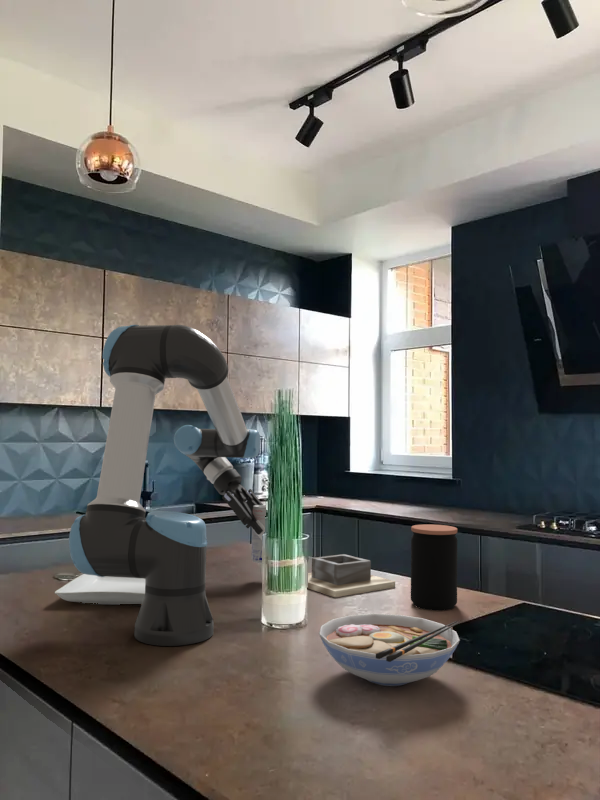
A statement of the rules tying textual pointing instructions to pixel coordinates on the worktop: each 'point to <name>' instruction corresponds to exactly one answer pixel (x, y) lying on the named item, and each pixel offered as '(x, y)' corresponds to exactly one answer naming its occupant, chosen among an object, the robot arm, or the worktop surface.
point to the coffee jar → (434, 567)
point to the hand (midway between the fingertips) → (274, 540)
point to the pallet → (344, 576)
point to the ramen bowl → (389, 646)
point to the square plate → (103, 590)
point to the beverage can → (259, 514)
